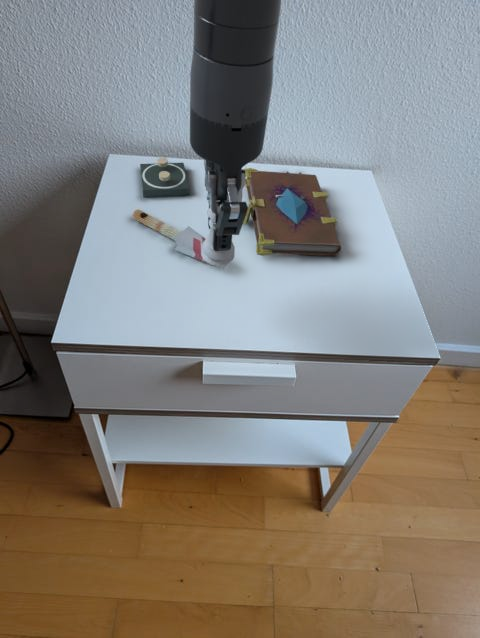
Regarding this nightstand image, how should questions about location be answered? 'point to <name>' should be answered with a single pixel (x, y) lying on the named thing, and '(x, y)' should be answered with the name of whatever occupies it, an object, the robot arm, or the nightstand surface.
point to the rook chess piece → (208, 252)
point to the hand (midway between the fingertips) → (219, 237)
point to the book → (290, 214)
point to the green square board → (164, 188)
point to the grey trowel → (176, 235)
